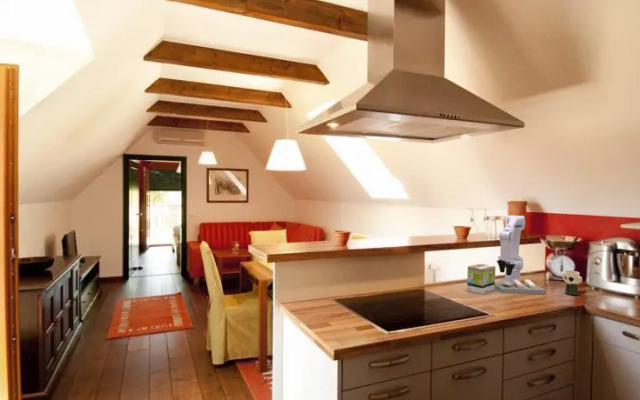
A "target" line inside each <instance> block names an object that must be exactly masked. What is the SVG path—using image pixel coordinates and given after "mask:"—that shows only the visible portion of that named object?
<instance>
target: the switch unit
mask: <svg viewBox="0 0 640 400" xmlns="http://www.w3.org/2000/svg"><path fill="white" fill-rule="evenodd" d="M521 283H522V282H521ZM522 284H523V285H524V288H518V287H517V286H516V285H515V284H514V283H511V285H505V284H500V282H495V290H496V291H497V292H499V293H501V294H514V295H515V294H518V295H519V294H521V295H523V294H524V295H546V289H545V288H542V287H540V286H538V285H536V288H531V287H529V286H528V285H527V284H526V283H525V282H524V283H522Z"/></svg>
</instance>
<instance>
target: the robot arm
mask: <svg viewBox="0 0 640 400" xmlns="http://www.w3.org/2000/svg"><path fill="white" fill-rule="evenodd" d="M525 226H526V217H525V215H512V214H511V215H510V214H509V215H506V225H505V226H504V227H503V229H502V231H500V232H499V237H498V238H499V244H500V256H497V260H496V263H497V265H498V268H499V272H500V273H504V282H511V283H513V282H512V279H517V280H518V281H519V282H521V271H522V270H523V268H524V259H523V257H522V256H520V254H519V253H520V241H521V234H522V233H521V232H522V230H525Z"/></svg>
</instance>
